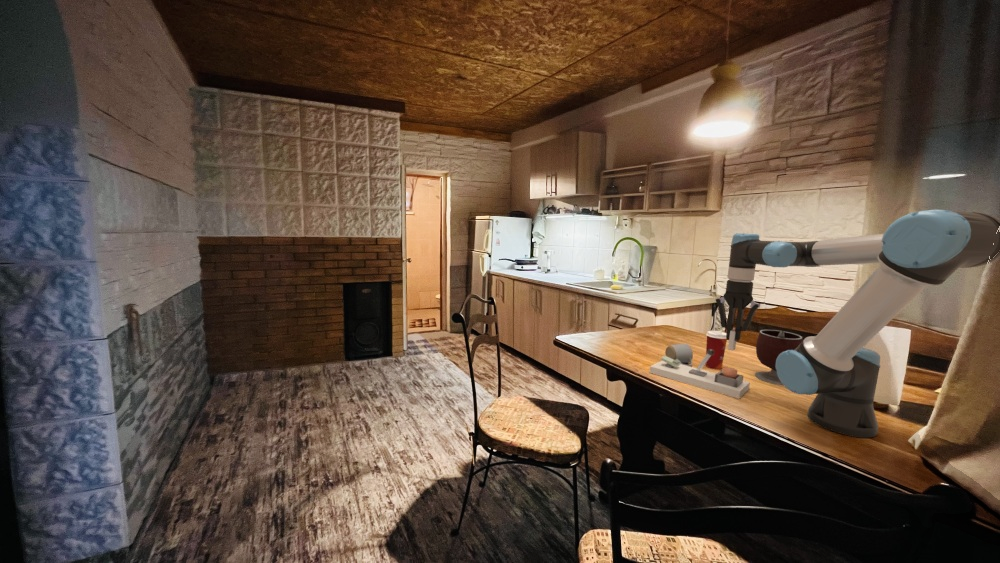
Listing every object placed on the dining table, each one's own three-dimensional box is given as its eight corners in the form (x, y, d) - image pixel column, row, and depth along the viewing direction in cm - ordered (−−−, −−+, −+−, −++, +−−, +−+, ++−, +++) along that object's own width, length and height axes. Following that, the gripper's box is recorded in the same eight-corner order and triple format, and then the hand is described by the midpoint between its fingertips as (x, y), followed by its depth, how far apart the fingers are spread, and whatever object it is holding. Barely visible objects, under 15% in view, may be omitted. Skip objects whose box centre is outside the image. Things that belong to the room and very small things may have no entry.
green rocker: (679, 365, 149) (681, 361, 149) (676, 367, 147) (677, 363, 146) (664, 358, 153) (665, 354, 153) (660, 359, 151) (661, 355, 150)
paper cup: (727, 371, 155) (731, 336, 153) (706, 369, 156) (710, 334, 154) (720, 364, 162) (723, 330, 160) (699, 362, 163) (703, 329, 161)
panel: (749, 389, 137) (750, 375, 137) (739, 398, 129) (740, 383, 128) (662, 365, 158) (664, 353, 158) (649, 372, 150) (650, 359, 149)
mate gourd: (752, 369, 157) (758, 320, 155) (796, 377, 150) (803, 325, 147) (752, 381, 144) (759, 327, 142) (799, 391, 137) (808, 334, 134)
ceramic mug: (663, 359, 166) (664, 341, 165) (680, 358, 168) (682, 341, 166) (679, 369, 156) (681, 350, 155) (697, 368, 157) (699, 349, 156)
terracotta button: (738, 376, 136) (739, 369, 136) (734, 379, 133) (735, 372, 133) (724, 373, 139) (724, 366, 139) (720, 376, 136) (720, 369, 136)
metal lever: (702, 371, 143) (716, 351, 139) (699, 372, 142) (714, 352, 138) (696, 367, 144) (710, 347, 141) (694, 368, 143) (708, 348, 139)
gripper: (766, 282, 130) (756, 351, 133) (722, 277, 139) (714, 342, 142) (760, 283, 124) (750, 356, 128) (715, 278, 133) (707, 346, 137)
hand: (731, 349), depth 135 cm, fingers closed
